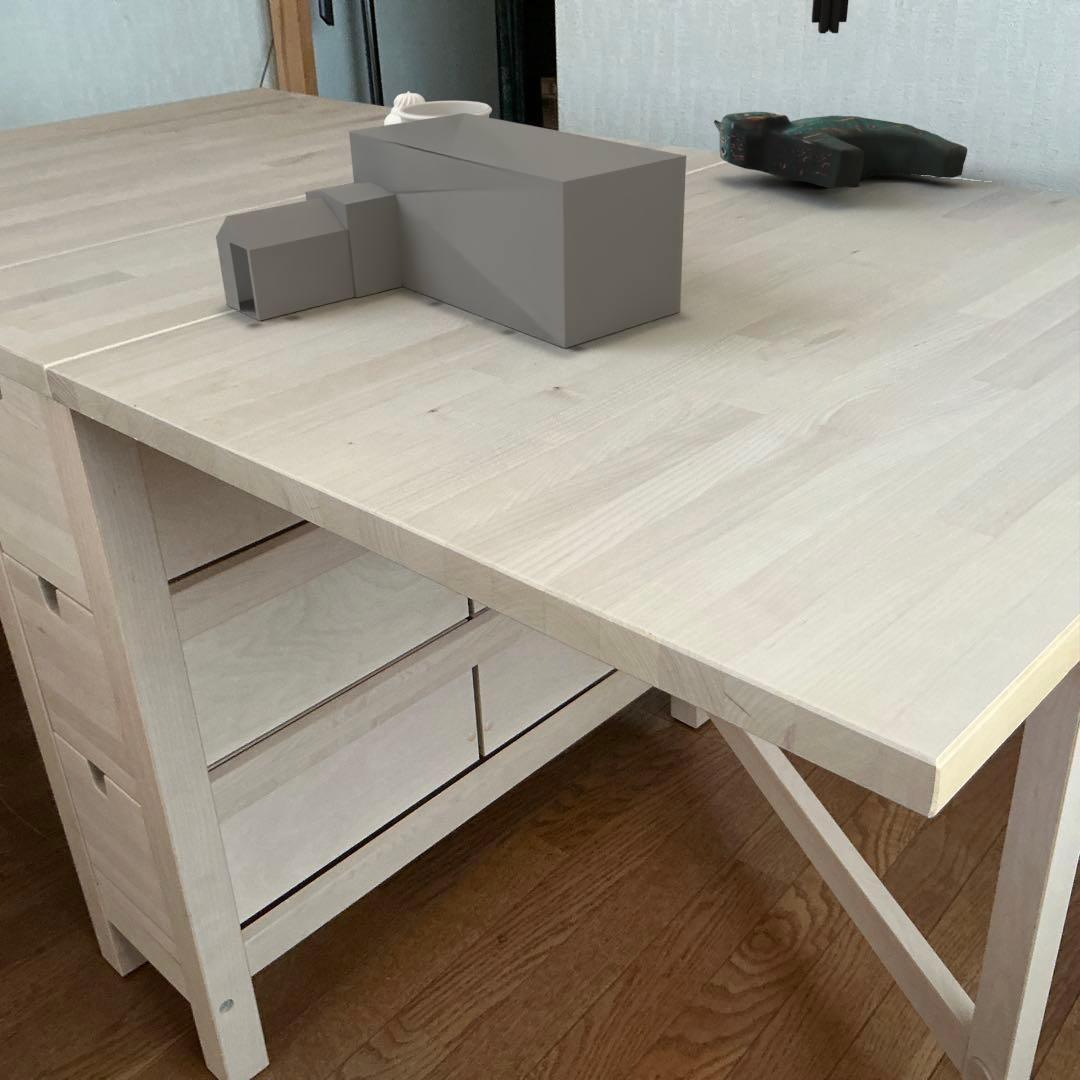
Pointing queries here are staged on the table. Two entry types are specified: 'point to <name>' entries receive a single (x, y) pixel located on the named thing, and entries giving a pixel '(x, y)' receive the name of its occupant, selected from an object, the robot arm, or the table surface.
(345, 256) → the stepped duct adapter
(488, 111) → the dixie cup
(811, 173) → the ceramic cat
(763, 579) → the table surface
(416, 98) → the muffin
